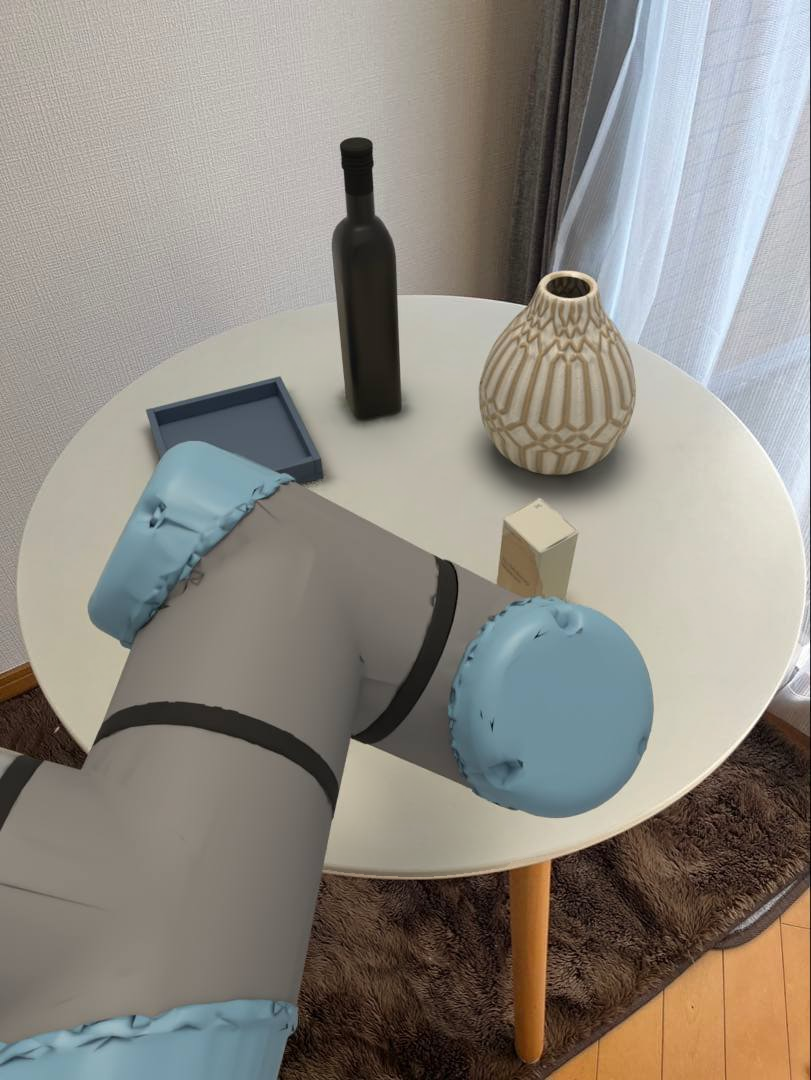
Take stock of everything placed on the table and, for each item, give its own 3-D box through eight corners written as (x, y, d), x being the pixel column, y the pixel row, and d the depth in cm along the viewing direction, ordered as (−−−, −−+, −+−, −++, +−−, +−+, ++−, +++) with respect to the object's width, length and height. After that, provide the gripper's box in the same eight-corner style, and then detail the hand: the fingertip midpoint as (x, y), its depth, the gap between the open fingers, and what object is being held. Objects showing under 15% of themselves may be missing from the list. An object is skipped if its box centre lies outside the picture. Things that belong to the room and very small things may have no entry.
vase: (558, 386, 105) (577, 226, 91) (655, 460, 96) (693, 294, 81) (447, 437, 100) (448, 275, 85) (539, 521, 90) (558, 354, 76)
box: (493, 599, 83) (499, 515, 75) (529, 578, 85) (539, 494, 77) (530, 636, 80) (540, 552, 72) (566, 614, 82) (580, 529, 74)
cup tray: (178, 518, 92) (172, 498, 90) (151, 428, 102) (145, 409, 100) (323, 478, 96) (321, 458, 93) (283, 395, 106) (280, 375, 104)
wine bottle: (389, 384, 106) (376, 126, 85) (404, 413, 103) (395, 150, 81) (343, 395, 105) (318, 136, 84) (356, 424, 102) (334, 160, 80)
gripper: (212, 872, 40) (167, 780, 60) (637, 635, 49) (475, 623, 69) (143, 722, 40) (120, 679, 60) (586, 508, 48) (437, 533, 68)
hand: (310, 649), depth 64 cm, fingers open, 13 cm apart
